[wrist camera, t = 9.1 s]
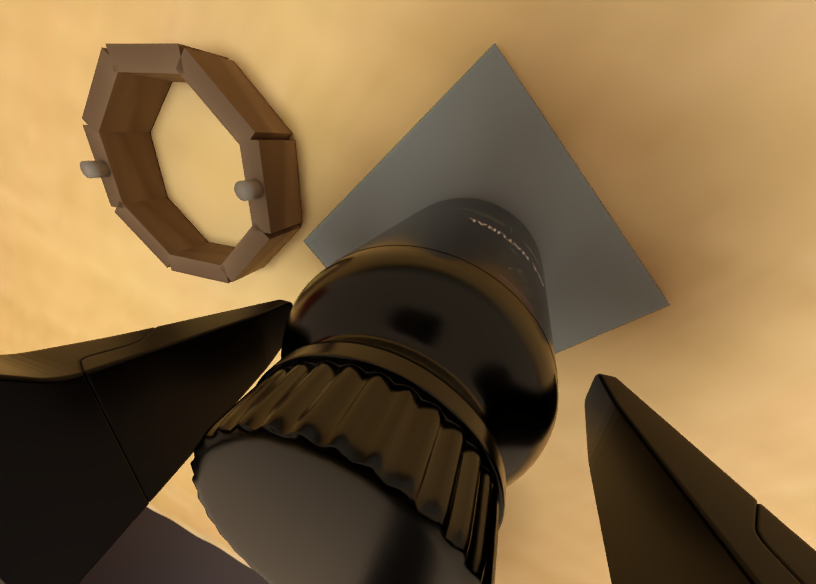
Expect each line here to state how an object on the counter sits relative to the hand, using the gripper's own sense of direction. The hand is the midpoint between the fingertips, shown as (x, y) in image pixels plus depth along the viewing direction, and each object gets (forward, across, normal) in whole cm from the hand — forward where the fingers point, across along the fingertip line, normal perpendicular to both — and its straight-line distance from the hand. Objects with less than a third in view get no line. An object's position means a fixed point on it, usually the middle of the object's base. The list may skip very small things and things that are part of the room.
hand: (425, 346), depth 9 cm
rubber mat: (+7, 0, 0) cm, 7 cm away
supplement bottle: (+7, 0, 0) cm, 7 cm away
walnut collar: (+7, +14, -3) cm, 16 cm away
